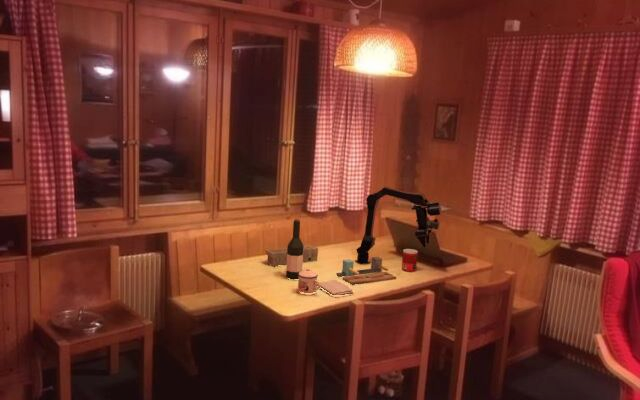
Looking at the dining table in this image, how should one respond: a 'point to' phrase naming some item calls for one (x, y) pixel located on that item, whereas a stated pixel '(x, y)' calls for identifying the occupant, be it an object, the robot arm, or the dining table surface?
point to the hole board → (369, 278)
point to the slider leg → (349, 267)
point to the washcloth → (335, 287)
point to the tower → (280, 255)
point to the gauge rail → (375, 267)
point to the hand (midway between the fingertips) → (426, 245)
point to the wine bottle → (294, 253)
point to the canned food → (409, 260)
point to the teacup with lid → (308, 281)
